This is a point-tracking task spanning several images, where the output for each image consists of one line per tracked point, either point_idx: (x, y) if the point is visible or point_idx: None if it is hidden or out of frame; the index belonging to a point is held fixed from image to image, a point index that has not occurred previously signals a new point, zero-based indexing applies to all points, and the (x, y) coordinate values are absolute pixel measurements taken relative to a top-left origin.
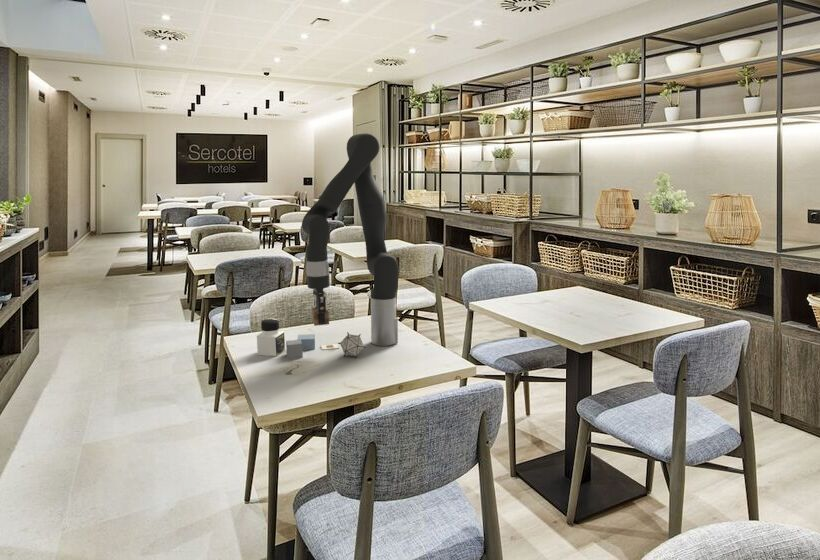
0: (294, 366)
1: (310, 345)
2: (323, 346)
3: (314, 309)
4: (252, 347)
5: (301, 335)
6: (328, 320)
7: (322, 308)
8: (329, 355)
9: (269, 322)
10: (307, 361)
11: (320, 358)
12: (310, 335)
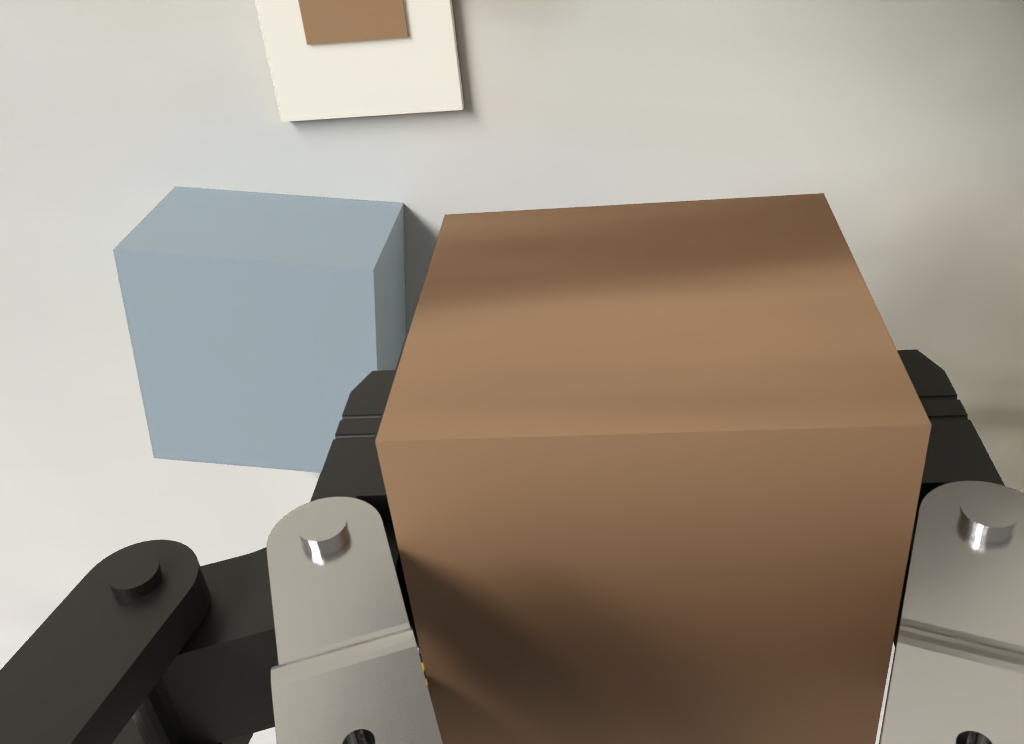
0: (1008, 451)
1: (396, 280)
2: (338, 85)
3: (640, 735)
4: (275, 735)
5: (187, 422)
6: (844, 251)
7: (596, 560)
8: (745, 16)
9: None
10: (892, 316)
11: (835, 154)
12: (192, 313)
